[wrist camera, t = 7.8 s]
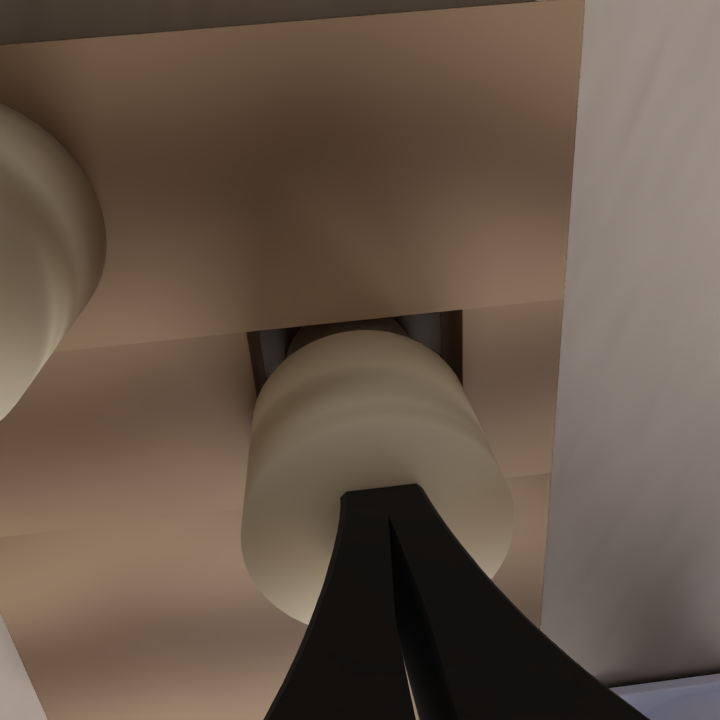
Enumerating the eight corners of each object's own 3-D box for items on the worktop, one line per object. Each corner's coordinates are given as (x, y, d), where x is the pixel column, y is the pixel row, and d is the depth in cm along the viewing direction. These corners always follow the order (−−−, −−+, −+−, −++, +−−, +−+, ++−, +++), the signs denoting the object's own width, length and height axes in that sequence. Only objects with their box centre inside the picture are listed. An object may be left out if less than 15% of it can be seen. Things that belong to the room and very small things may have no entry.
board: (509, 657, 23) (582, 868, 17) (98, 710, 22) (32, 949, 17) (538, 1, 14) (712, -11, 8) (-154, 57, 13) (-492, 86, 8)
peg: (439, 437, 19) (505, 622, 13) (267, 450, 18) (255, 646, 13) (444, 274, 17) (525, 409, 11) (248, 286, 16) (224, 431, 11)
